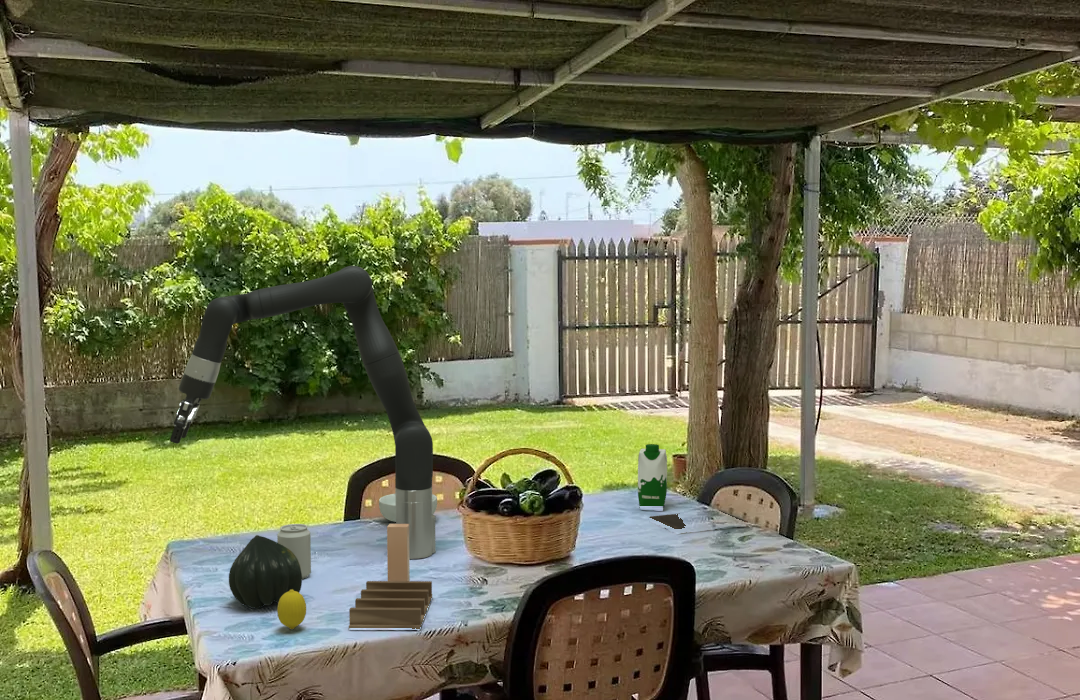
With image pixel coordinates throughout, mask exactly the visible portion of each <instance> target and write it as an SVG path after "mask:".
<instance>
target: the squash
mask: <svg viewBox="0 0 1080 700" xmlns="http://www.w3.org/2000/svg"><path fill="white" fill-rule="evenodd" d="M302 583H303V579H302V573H301V567H300V564H299V561H298V559H297V557H296V556H295V554H294V553H293V552H292V551H291V550H289V549H288V548H286V547H285V546H283V545H281V544H279V543H277V541H275V540H273V539H270V538H268V537H266V536H263V535H258V534H257V535H255V536H254V537H252V539H250V541H249V542H248V543H247V544H246V545H245V547H244V548H243V549H242V551H241V552H240V553H239V554H238V555H237V556H236V558H235V559H234V561H233V562H232V564H231V567H230V569H229V573H228V585H229V589H230V591H231V593H232V595H233V597H234V598H235V600H237V602H238V603H240V604H241V605H242V606H246V607H249V608H252V609H261V608H262V607H264V606H270V605H272V604H273V602H274V603H277V604H278V603H279V600H280V598H281V597H282V595H283V594H285V593H286V592H288V591H290V590H294V591H296V592H299V593H301V590H302Z"/></svg>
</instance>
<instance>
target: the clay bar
mask: <svg viewBox="0 0 1080 700" xmlns="http://www.w3.org/2000/svg"><path fill="white" fill-rule="evenodd" d="M386 530H387V531H386V534H387V535H386V547H387V548H386V549H387V551H386V552H387V556H386V557H387V562H386V563H387V565H386V566H387V581H411V579H410V578H411V577H410V575H411V574H410V573H411V572H410V568H411V566H410V559H409V524H396V523H389V524H388V525H387V526H386Z"/></svg>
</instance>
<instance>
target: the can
mask: <svg viewBox="0 0 1080 700" xmlns="http://www.w3.org/2000/svg"><path fill="white" fill-rule="evenodd" d="M279 529H280V530H279V532H278V533H277V534H276V535H277V537H276V539H277V541H276V542H277V543H279V544H281V545H283V546H285V547H286V548H288V549H289V550H291V551H292V552H293V553H294V554H295V556H296V557H297V559H298V561H299V564H300V567H301V573H302V580H304V578H305V579H307V578H308V576H310V574H311V573H312V554H311V553H312V550H311V549H312V548H311V545H312V543H311V530H309V529H308V525H307V524H303V523H290V524H285V525H282V526H280V528H279ZM306 577H307V578H306Z"/></svg>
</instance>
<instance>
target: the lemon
mask: <svg viewBox="0 0 1080 700" xmlns="http://www.w3.org/2000/svg"><path fill="white" fill-rule="evenodd" d="M276 613H277V618H278V621H279V622H280V623H281V625H283V626H284V627H286V628H288V629H290V630H291V629H293V630H294V629H296V627H298V626H299V625H301V624H302V623H303V621H304V620H305V619H306V616H307V603H306V600H305V598H304V596H303V594H302V593H301V592H296V591H294V590H290V591H288V592H286V593H285V594H283V595H282V597H281V598H280V600H279V603H278V602H277V611H276Z"/></svg>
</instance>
